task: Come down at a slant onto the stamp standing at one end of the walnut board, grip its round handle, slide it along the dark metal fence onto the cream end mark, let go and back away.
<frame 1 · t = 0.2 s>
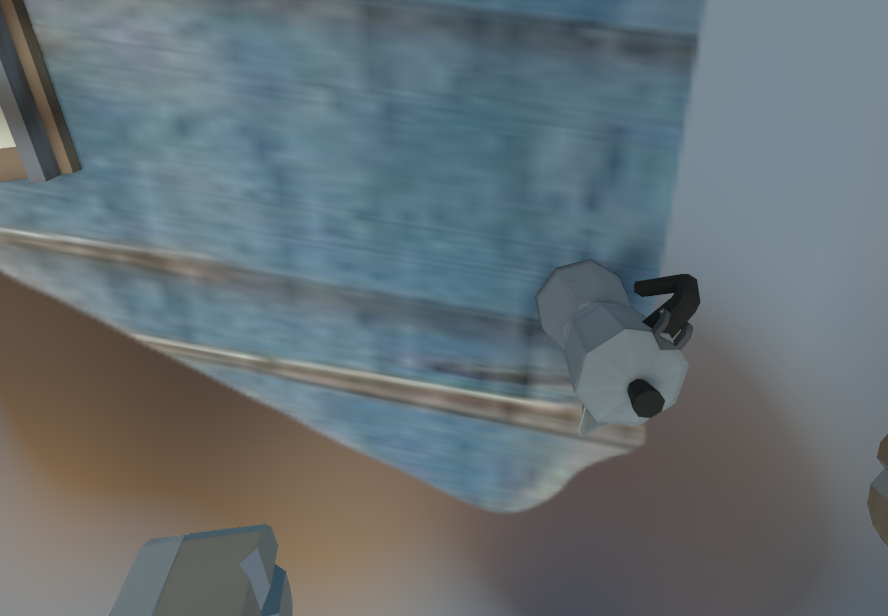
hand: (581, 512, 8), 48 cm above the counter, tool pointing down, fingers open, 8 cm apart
coffee maker: (585, 291, 60), on the counter
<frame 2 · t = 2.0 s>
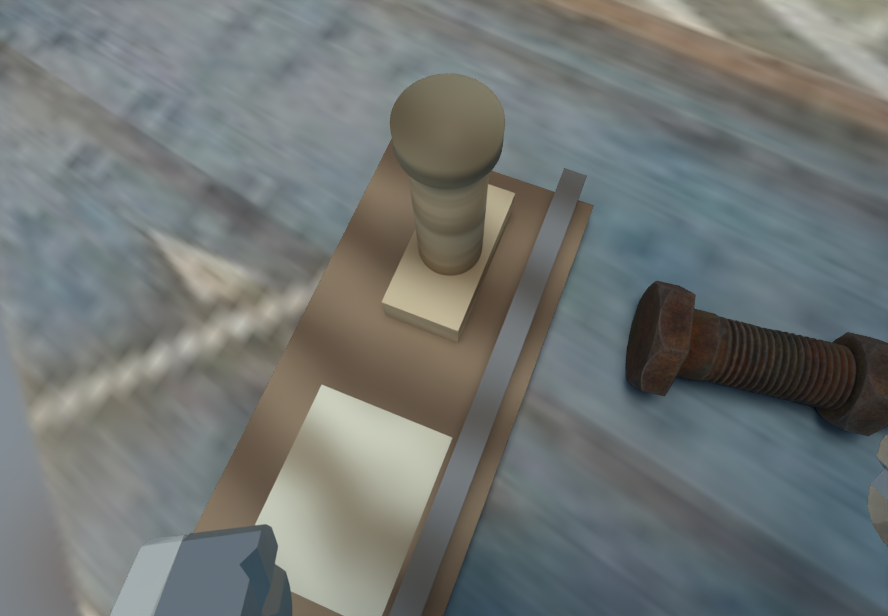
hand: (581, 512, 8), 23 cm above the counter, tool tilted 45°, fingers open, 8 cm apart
stamp: (450, 262, 33), point 1 cm above the counter, touching board
board: (400, 389, 33), on the counter
bolt: (770, 382, 33), on the counter
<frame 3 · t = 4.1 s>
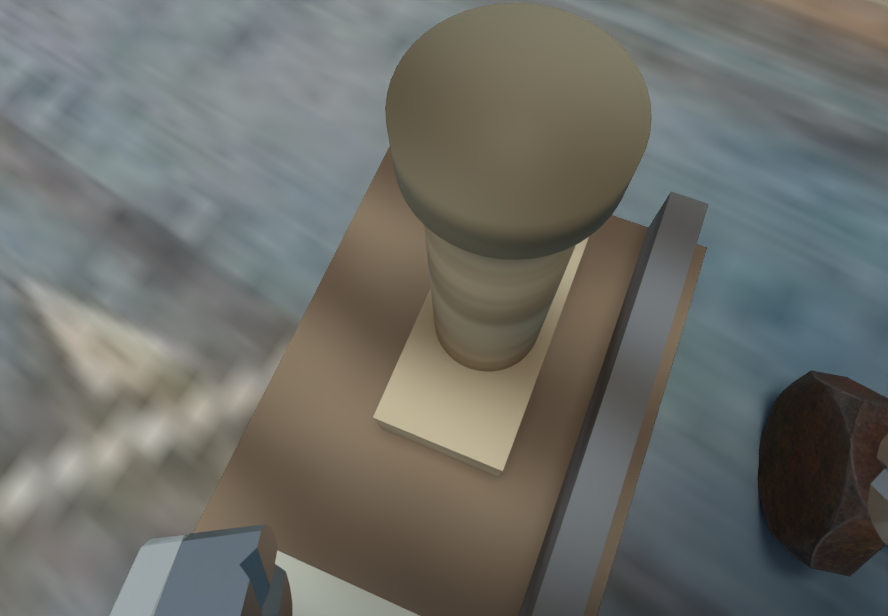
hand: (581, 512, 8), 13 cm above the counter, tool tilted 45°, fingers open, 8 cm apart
stamp: (484, 339, 21), point 1 cm above the counter, touching board
board: (404, 545, 20), on the counter
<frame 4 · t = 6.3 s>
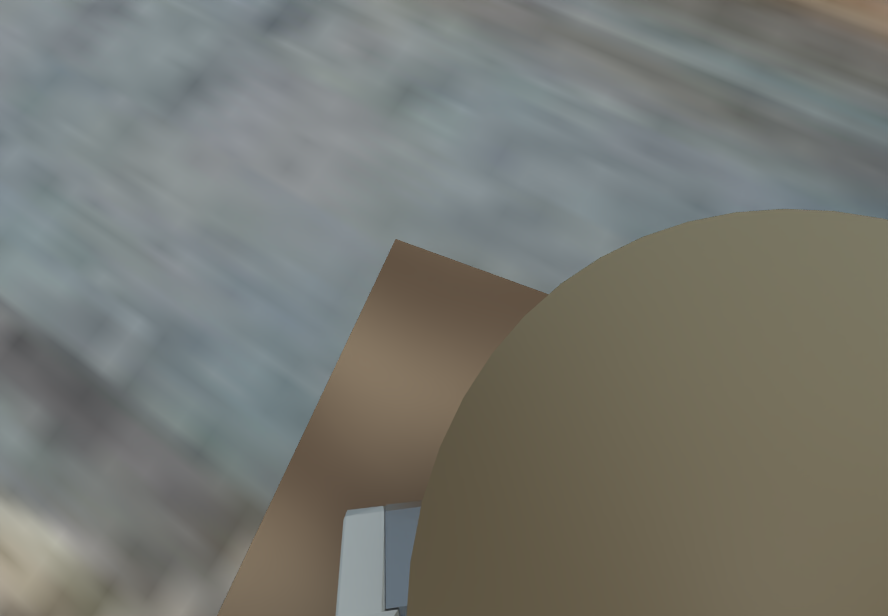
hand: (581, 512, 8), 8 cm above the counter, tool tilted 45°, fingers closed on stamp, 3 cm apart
stamp: (533, 551, 14), point 2 cm above the counter, touching board, gripper
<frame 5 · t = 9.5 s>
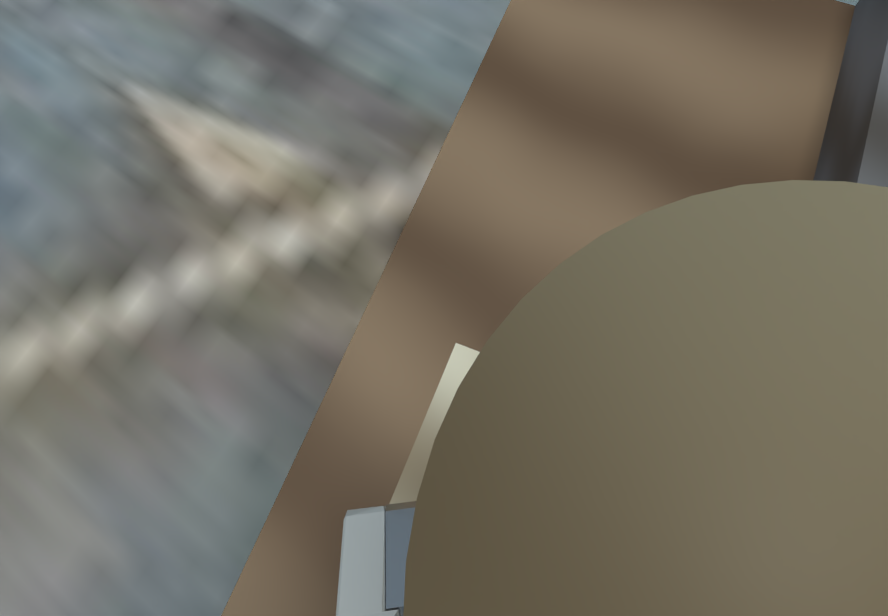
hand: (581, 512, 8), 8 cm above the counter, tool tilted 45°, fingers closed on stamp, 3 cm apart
stamp: (530, 525, 14), point 2 cm above the counter, touching gripper
board: (594, 354, 17), on the counter
when the fingers open (8 cm above the counter, at t = 10.8 s): stamp stays where it is, resting on board.
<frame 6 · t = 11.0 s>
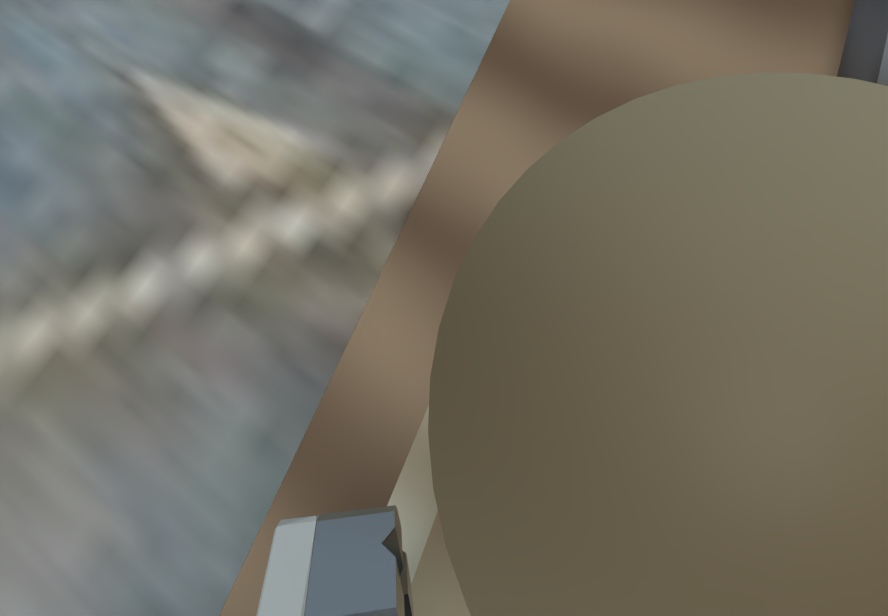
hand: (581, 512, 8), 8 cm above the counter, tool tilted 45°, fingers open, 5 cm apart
stamp: (533, 509, 14), point 2 cm above the counter, touching board
board: (599, 337, 17), on the counter
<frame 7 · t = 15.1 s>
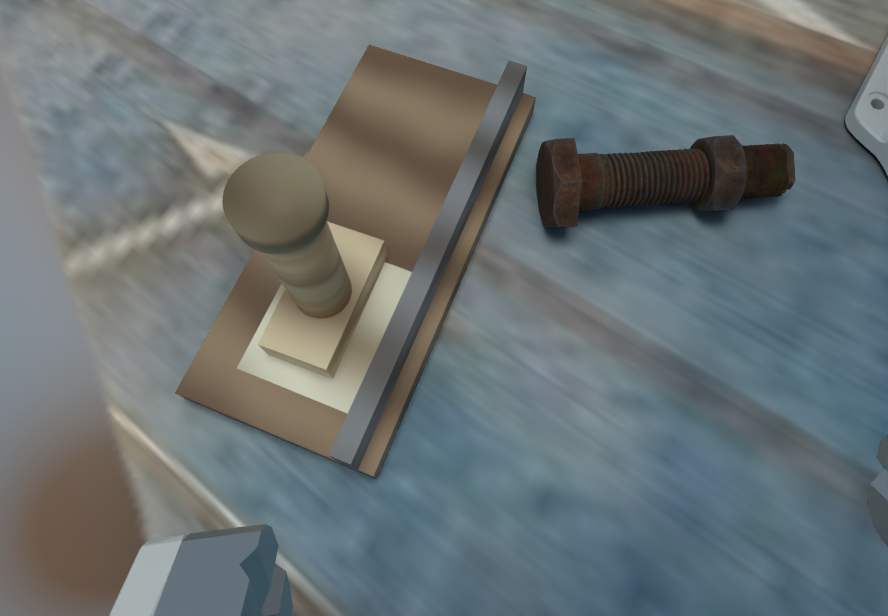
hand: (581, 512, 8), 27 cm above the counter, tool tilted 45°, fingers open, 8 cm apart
stamp: (329, 303, 36), point 2 cm above the counter, touching board
board: (373, 243, 39), on the counter
bolt: (653, 200, 41), on the counter
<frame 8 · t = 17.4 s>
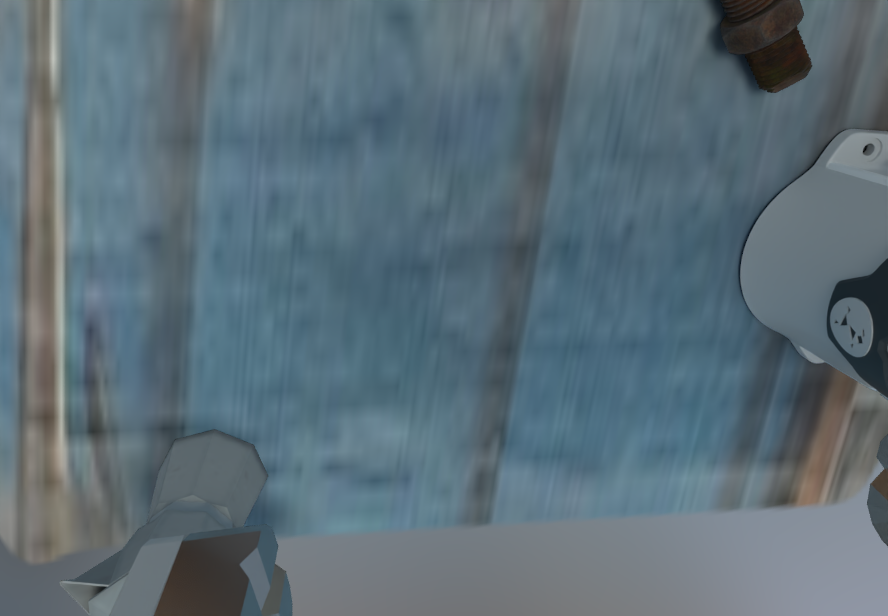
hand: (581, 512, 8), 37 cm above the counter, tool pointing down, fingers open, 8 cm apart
coffee maker: (227, 476, 53), on the counter
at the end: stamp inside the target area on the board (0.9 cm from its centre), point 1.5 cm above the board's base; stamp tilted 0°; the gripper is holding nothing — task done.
